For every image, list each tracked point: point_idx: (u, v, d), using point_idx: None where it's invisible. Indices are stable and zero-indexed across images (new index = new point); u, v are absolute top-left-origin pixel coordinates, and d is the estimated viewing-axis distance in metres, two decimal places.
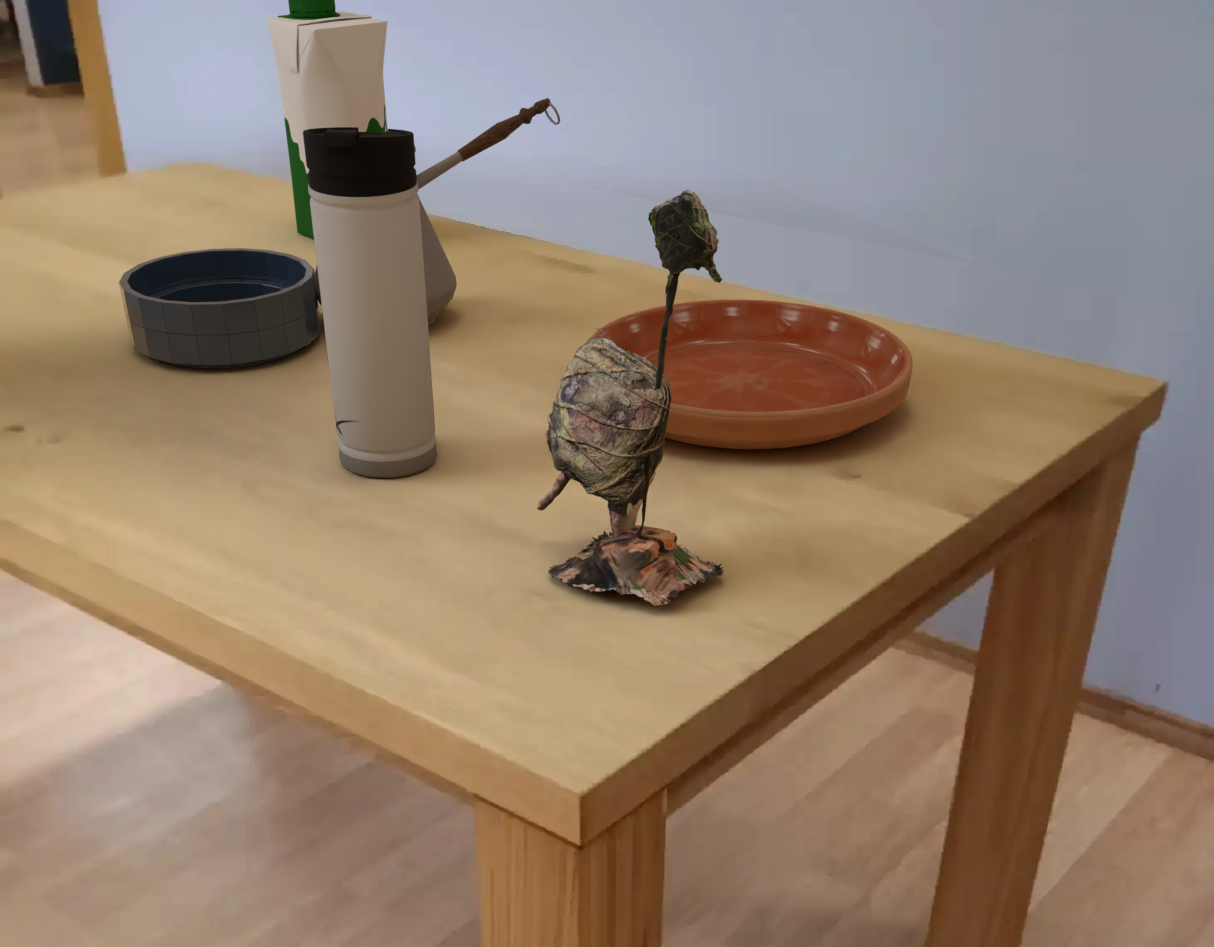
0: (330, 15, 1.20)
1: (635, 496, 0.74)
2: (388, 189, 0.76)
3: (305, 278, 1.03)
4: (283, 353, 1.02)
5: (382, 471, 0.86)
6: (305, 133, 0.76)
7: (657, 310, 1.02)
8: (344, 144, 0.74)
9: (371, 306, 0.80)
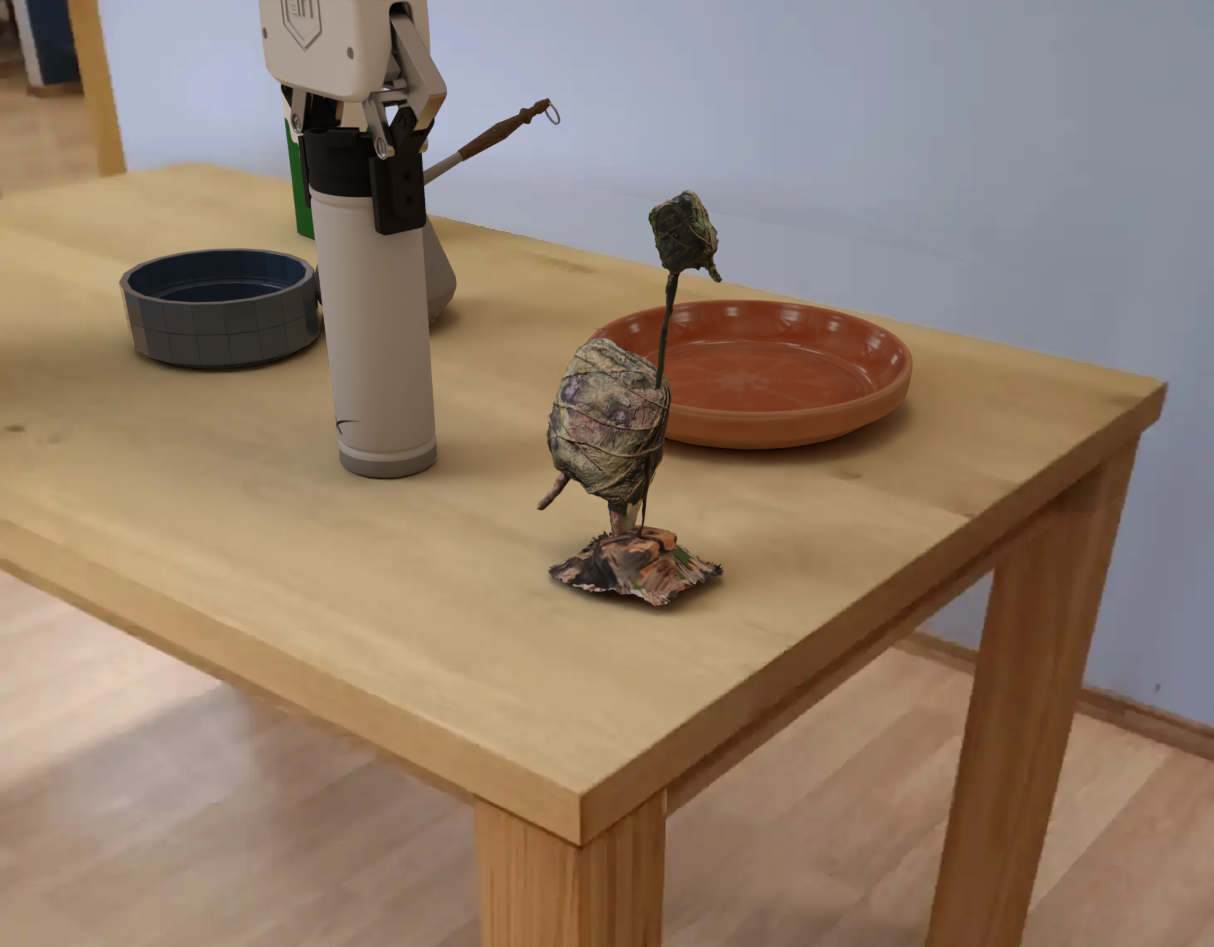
0: None
1: (635, 496, 0.74)
2: None
3: (305, 278, 1.03)
4: (283, 353, 1.02)
5: (382, 471, 0.86)
6: (306, 133, 0.75)
7: (657, 311, 1.02)
8: (345, 144, 0.74)
9: (372, 306, 0.80)
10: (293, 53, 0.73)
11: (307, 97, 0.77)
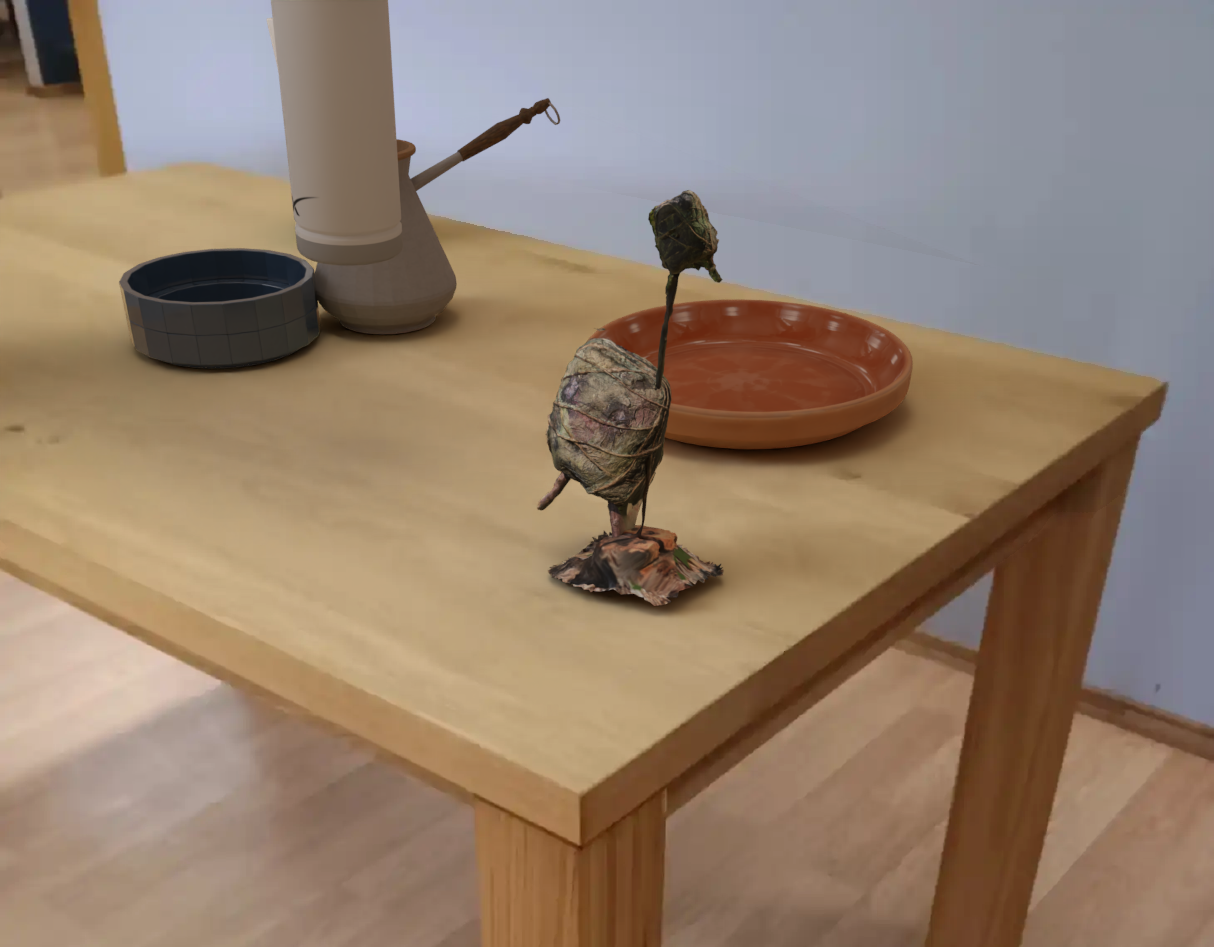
0: None
1: (635, 496, 0.74)
2: None
3: (305, 278, 1.03)
4: (283, 353, 1.02)
5: (342, 257, 0.79)
6: None
7: (657, 310, 1.02)
8: None
9: (331, 59, 0.73)
10: None
11: None
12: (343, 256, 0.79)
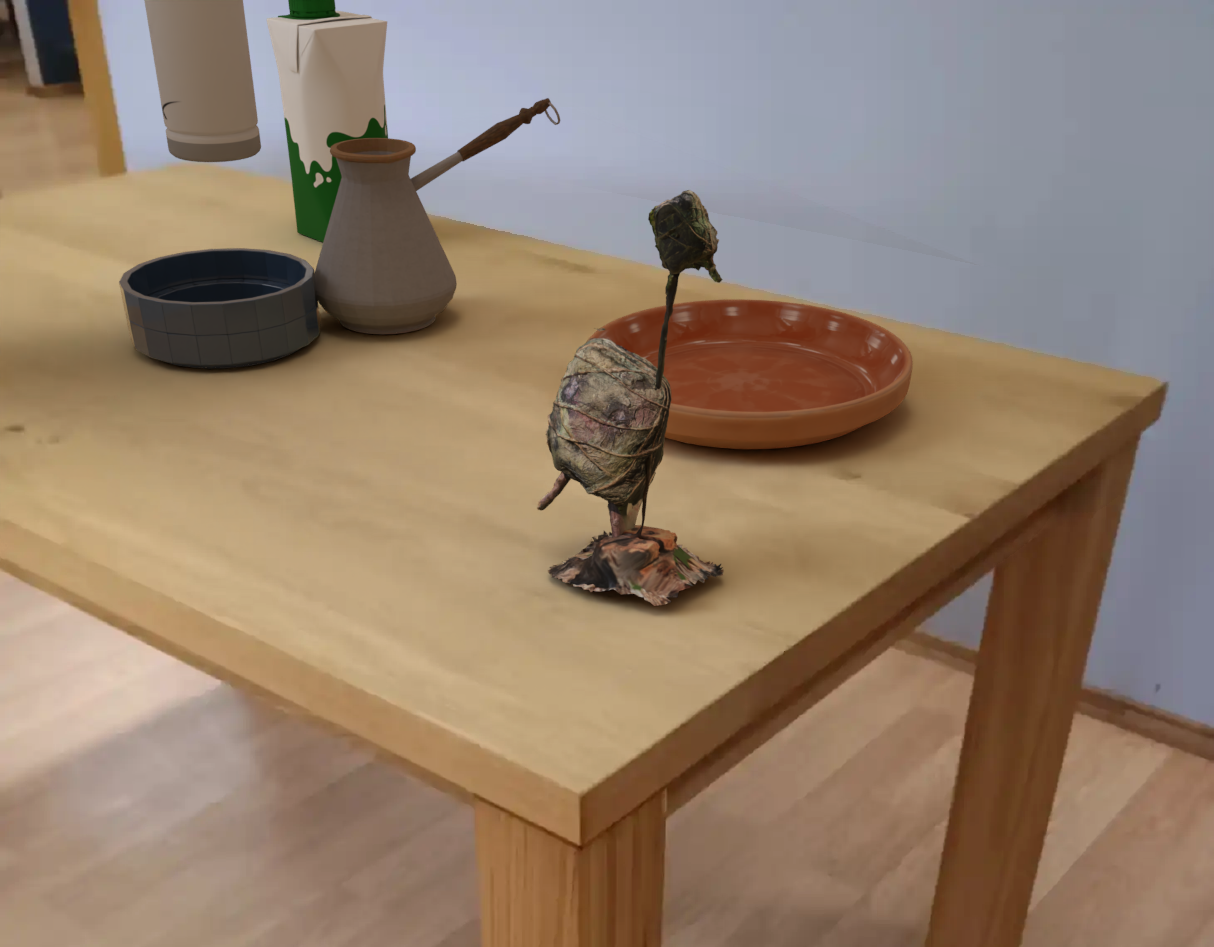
0: (330, 15, 1.20)
1: (635, 496, 0.74)
2: None
3: (305, 278, 1.03)
4: (283, 353, 1.02)
5: (204, 154, 0.92)
6: None
7: (657, 310, 1.02)
8: None
9: None
10: None
11: None
12: (205, 153, 0.92)
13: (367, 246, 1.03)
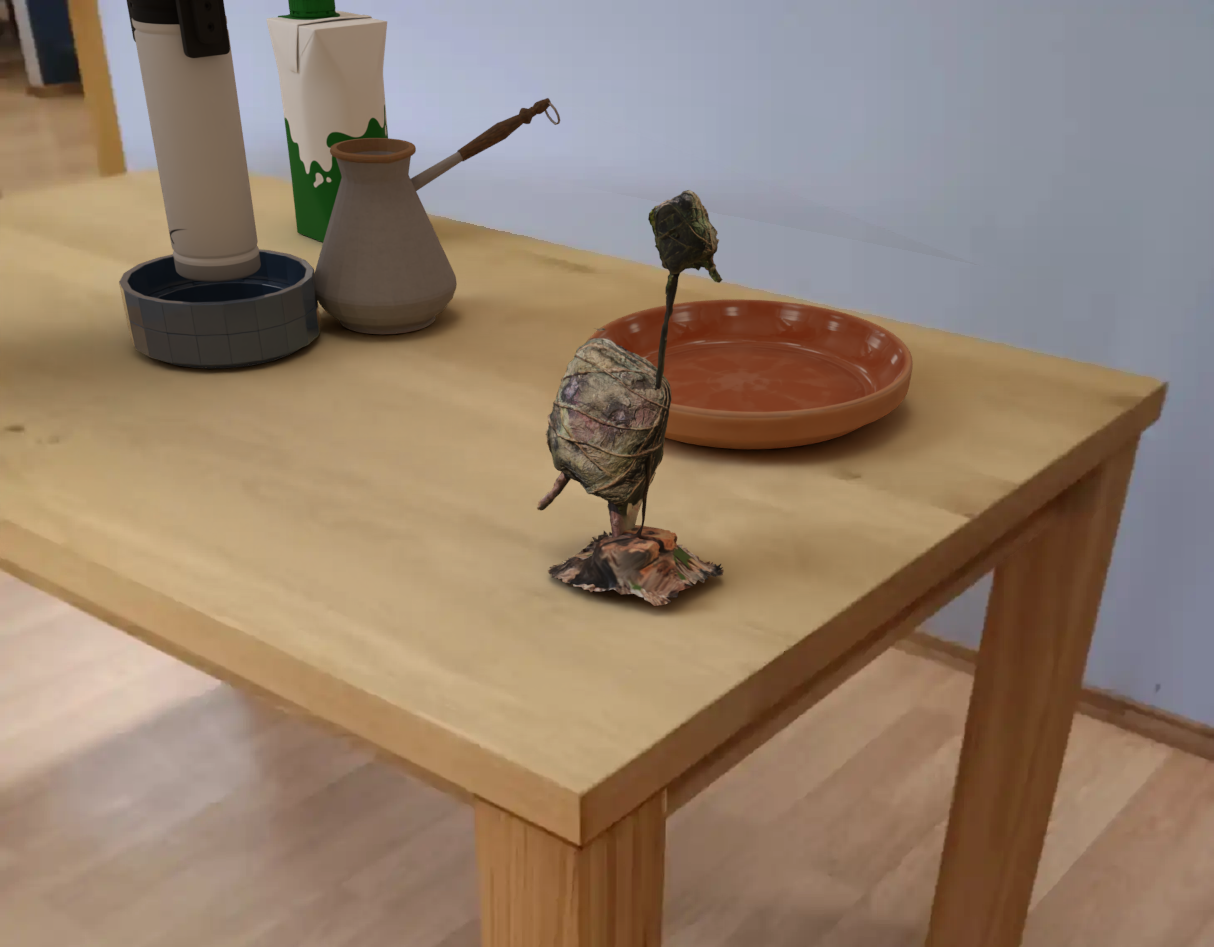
0: (330, 15, 1.20)
1: (635, 496, 0.74)
2: None
3: (305, 278, 1.03)
4: (283, 353, 1.02)
5: (208, 275, 1.00)
6: None
7: (657, 310, 1.02)
8: None
9: (188, 123, 0.94)
10: None
11: None
12: (209, 274, 1.00)
13: (367, 246, 1.03)
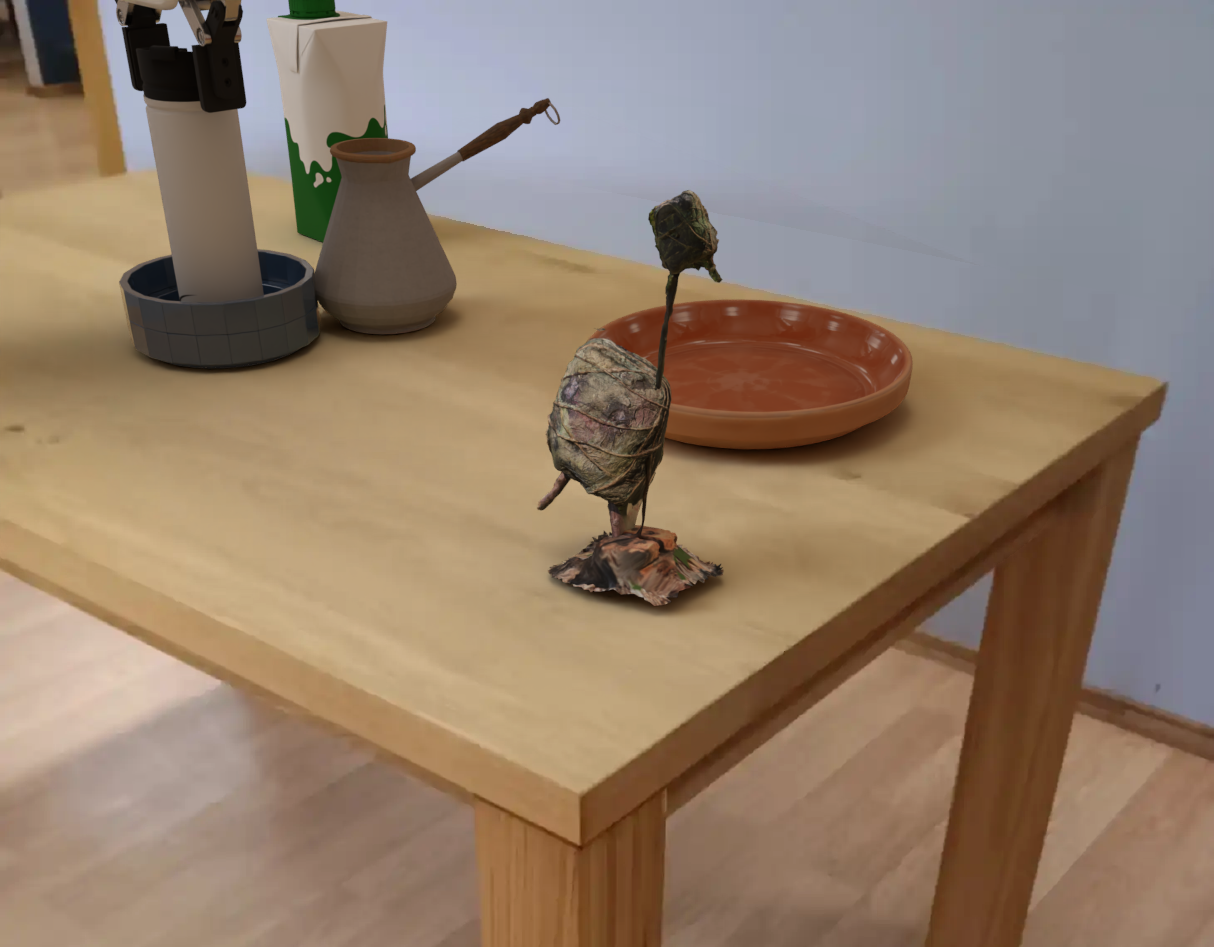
0: (330, 15, 1.20)
1: (635, 496, 0.74)
2: None
3: (305, 278, 1.03)
4: (283, 353, 1.02)
5: None
6: (137, 49, 0.93)
7: (657, 310, 1.02)
8: (165, 57, 0.91)
9: (198, 195, 0.97)
10: None
11: None
12: None
13: (367, 246, 1.03)
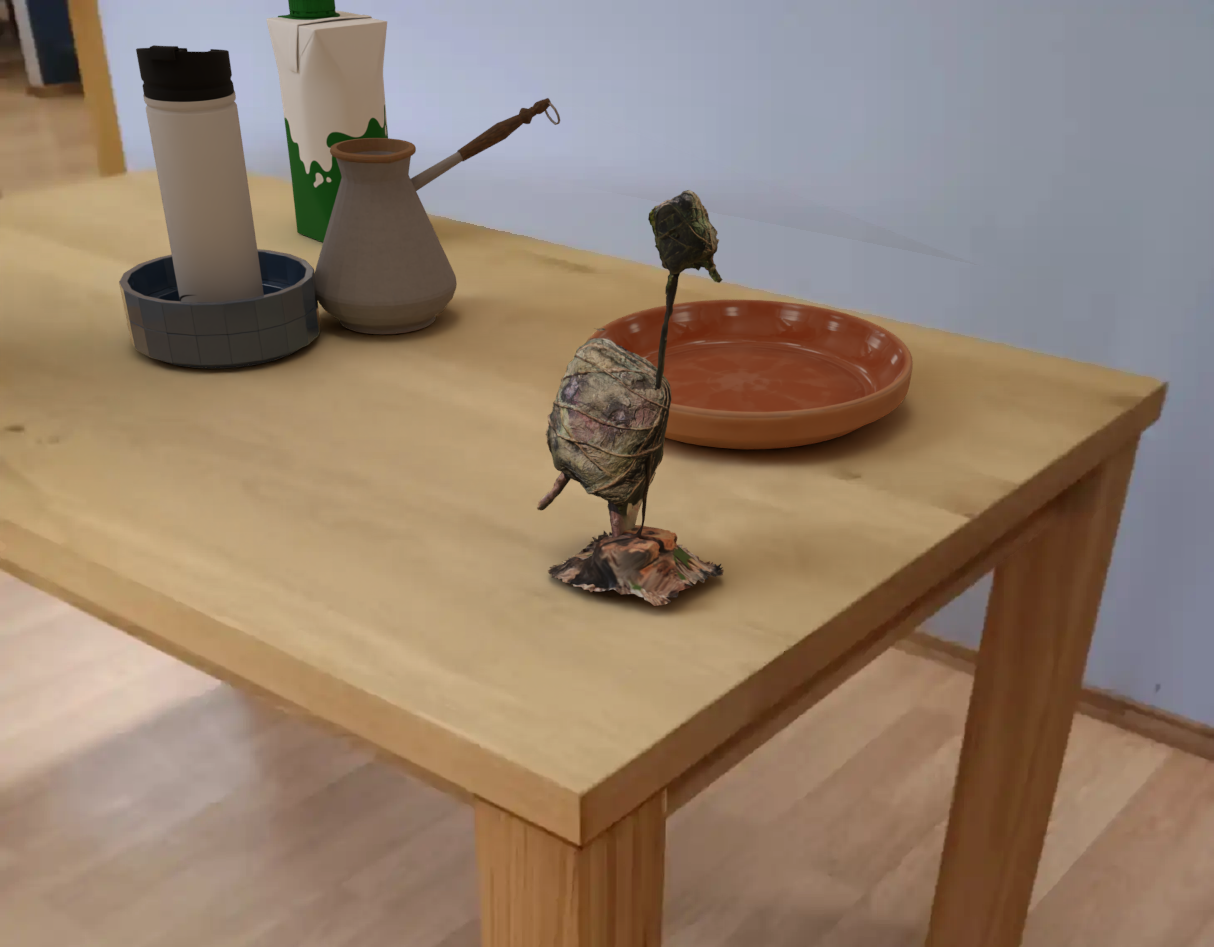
0: (330, 15, 1.20)
1: (635, 496, 0.74)
2: (205, 95, 0.94)
3: (305, 278, 1.03)
4: (283, 353, 1.02)
5: None
6: (137, 49, 0.93)
7: (657, 310, 1.02)
8: (165, 57, 0.91)
9: (198, 195, 0.97)
10: None
11: None
12: None
13: (367, 246, 1.03)
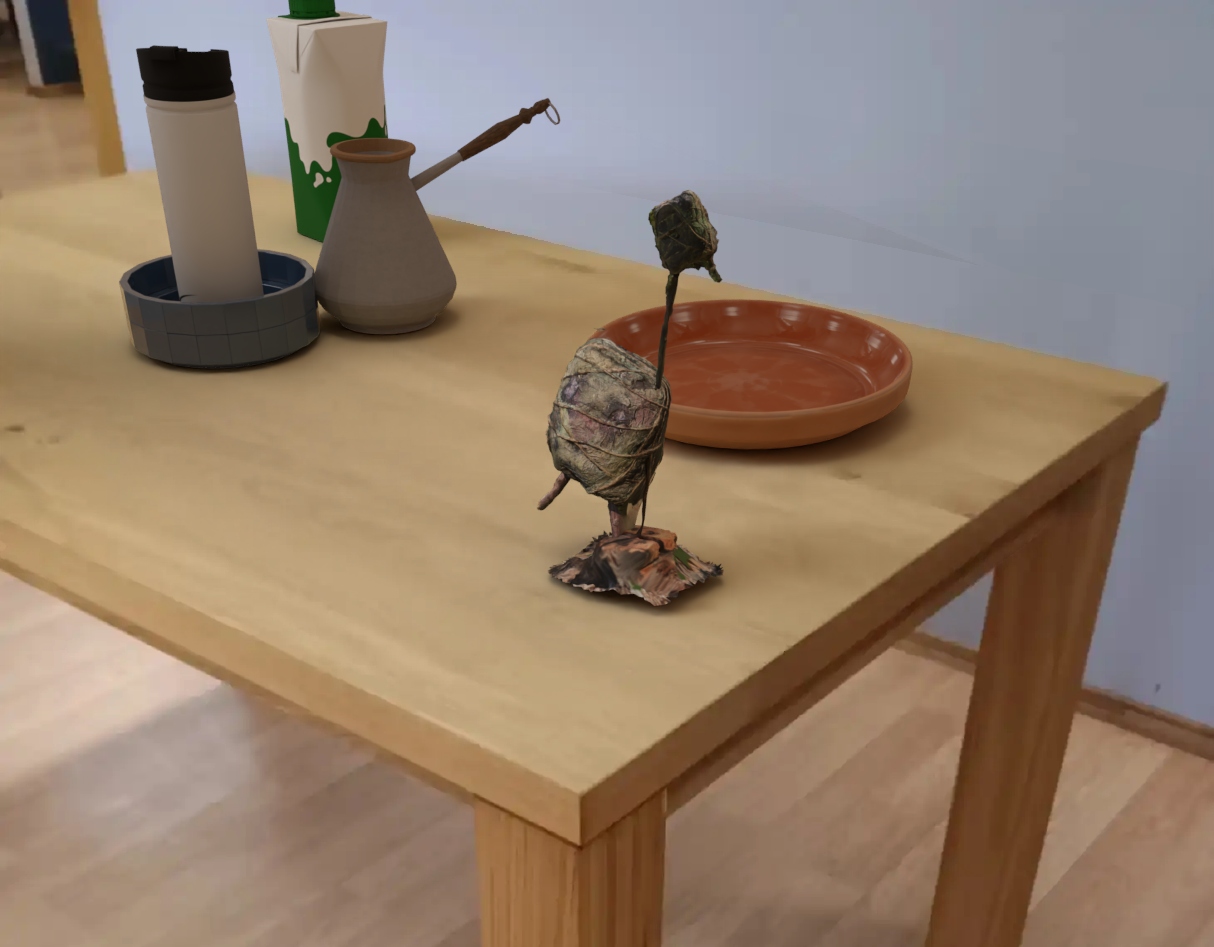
0: (330, 15, 1.20)
1: (635, 496, 0.74)
2: (205, 95, 0.94)
3: (305, 278, 1.03)
4: (283, 353, 1.02)
5: None
6: (137, 49, 0.93)
7: (657, 310, 1.02)
8: (165, 57, 0.91)
9: (198, 195, 0.97)
10: None
11: None
12: None
13: (367, 246, 1.03)
